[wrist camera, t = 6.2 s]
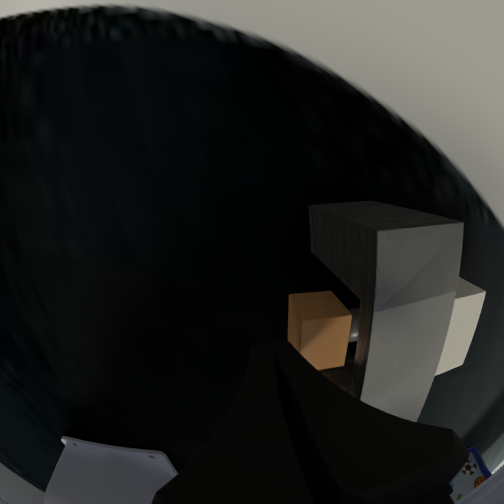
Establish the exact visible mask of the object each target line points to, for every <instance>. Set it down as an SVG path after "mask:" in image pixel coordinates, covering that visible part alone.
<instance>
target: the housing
mask: <svg viewBox="0 0 504 504" xmlns="http://www.w3.org/2000/svg"><path fill="white" fill-rule="evenodd" d="M308 210H309V226H310V244H311V252H312V253H313V254H314V255H315V256H316V257H317V258H318V259H319V260H320V261H321V262H322V263H323V264H324V265H325V266H326V267H327V268H329V269H330V270H331V271H332V272H333V273H334V274H335V275H336V276H337V277H338V278H339V279H340V280H341V281H342V282H343V283H344V284H345V285H346V286H347V287H348V288H349V289H350V290H351V291H352V292H353V293H354V294H355V295H356V296H357V297H358V298H359V299H360V314H359V326H358V337H357V347H356V354H352V355H347V356H346V357H345V362H344V366H339V367H333V368H327V369H321V370H318V371H319V372H321V373H322V374H323V375H324V376H325V377H327V378H328V379H329V380H330V381H332V382H333V383H334V384H336V385H337V386H339V387H340V388H341V389H343V390H344V391H346V392H347V393H349V394H351V395H352V396H354V397H356V398H357V399H359V400H361V401H363V402H365V403H367V404H369V405H371V406H373V407H375V408H378V409H380V410H382V411H384V412H387V413H389V414H392V415H395V416H397V417H400V418H403V419H407V420H410V421H413V422H416V421H417V419H418V417H419V414H420V412H421V410H422V407H423V405H424V403H425V400H426V398H427V395H428V393H429V390H430V387H431V385H432V382H433V379H434V376H435V373H436V370H437V367H438V364H439V361H440V358H441V354H442V351H443V348H444V344H445V340H446V337H447V333H448V329H449V325H450V320H451V316H452V311H453V306H454V301H455V296H456V290H457V284H458V278H459V270H460V262H461V253H462V242H463V228H464V222H460V221H456V220H453V219H449V218H445V217H441V216H437V215H433V214H429V213H425V212H421V211H417V210H412V209H408V208H403V207H399V206H394V205H390V204H385V203H380V202H375V201H359V202H344V203H331V204H318V205H308Z"/></svg>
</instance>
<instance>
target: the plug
mask: <svg viewBox="0 0 504 504" xmlns="http://www.w3.org/2000/svg"><path fill="white" fill-rule="evenodd" d="M485 293H486V291H484V290H482V289H480V288H479V287H477V286H475V285H473V284H471V283H469V282H467V281H466V280H464V279H462V278H460V277H459V278H458V284H457V290H456V296H455V301H454V306H453V311H452V316H451V320H450V325H449V329H448V333H447V337H446V340H445V344H444V348H443V351H442V354H441V358H440V361H439V364H438V367H437V370H436V373H435V376H436V375H438V374H441V373H443V372H446V371H448V370H451V369H453V368H455V367H458V366H460V365H462V364H463V362H464V359H465V357H466V354H467V351H468V349H469V346H470V343H471V341H472V338H473V335H474V332H475V329H476V325H477V322H478V319H479V316H480V312H481V309H482V305H483V301H484V297H485ZM359 314H360V308H353V309H347V308H346V307H345V306H344V305H343V304H342V303H341V301H340V300H339V299H338V298H337V297H336V296H335V295H334V293H333V292H332V291H321V292H309V293H296V294H289V314H288V341H289V342H290V343H291V344H292V345H293V346H294V347H295V348H296V349H297V351H298V352H299V353H300V354H301V355H302V356H303V357H304V358H305V359H306V360H307V361H308V362H309V363H310V364H312V365H313V366H314V367H315V368H316V369H317V370H321V369H327V368H333V367H339V366H344V362H345V357H346V351H347V346H348V342H353V341H357V337H358V326H359Z"/></svg>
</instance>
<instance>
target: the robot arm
mask: <svg viewBox="0 0 504 504" xmlns="http://www.w3.org/2000/svg"><path fill="white" fill-rule="evenodd" d="M61 440H62V442H63V443H64V444H65V445H66V446H65V448H64V450H63V452H62V454H61V457H60V459H59V461H58V463H57V465H56V468H55V470H54V472H53V475H52V477H51V479H50V482H49V484H48V487H47V489H46V492H45V499H44V504H504V465H503V466H502V467H501V468H500V469H499V470H497V471H496V472H495V473H494V474H493V475H491V476H490V477H489V478H488V479H487V480H485V481H484V482H483V483H481V484H480V485H479V486H478V487H476V488H475V489H474V490H472V491H471V492H469V493H468V494H467V495H465V496H464V497H462V498H461V499H459V500H458V501H456V502H455V503H454V501H453V500H452V498H451V496H450V494H451V493H452V492H453V488H452V487H451V485H450V483H449V482H450V481H451V480H452V479H453V478H454V477H455V476H456V474H457V473H458V472H459V471H460V470H461V469H462V467H463V466H464V465H465V464H466V462H467V461H468V458H469V455H470V452H469V450H468V449H467V448H466V446H465V445H464V443H463V442H462V441H461V439H460V438H459V437H458V436H457V435H456V433H455V432H454V431H453V430H452V429H448V428H442V427H436V426H431V425H426V424H421V423H417V422H413V421H410V420H407V419H403V418H400V417H397V416H395V415H392V414H389V413H387V412H384V411H382V410H380V409H378V408H375V407H373V406H371V405H369V404H367V403H365V402H363V401H361V400H359V399H357V398H356V397H354V396H352V395H351V394H349V393H347V392H346V391H344V390H343V389H341V388H340V387H339V386H337V385H336V384H334V383H333V382H332V381H330V380H329V379H328V378H327V377H325V376H324V375H323V374H322V373H321V372H319V371H318V370H317V369H316V368H315V367H314V366H313V365H312V364H310V363H309V362H308V361H307V360H306V359H305V358H304V357H303V356H302V355H301V354H300V353H299V352H298V351H297V349H296V348H295V347H294V346H293V345H292V344H291V343H290V342H289V341H288V340H286V341H279V342H272V343H265V344H258V345H253V346H252V347H251V348H250V357H249V362H248V366H247V369H246V372H245V375H244V378H243V381H242V384H241V386H240V388H239V391H238V393H237V395H236V397H235V400H234V402H233V404H232V406H231V407H230V409H229V411H228V413H227V415H226V416H225V418H224V420H223V421H222V423H221V424H220V426H219V427H218V429H217V430H216V431H215V433H214V434H213V436H212V437H211V438H210V440H209V441H208V442H207V444H206V445H205V446H204V447H203V448H202V450H201V451H200V452H199V453H198V454H197V455H196V456H195V457H194V458H193V459H192V460H191V462H190V463H189V464H188V465H187V466H186V467H185V468H184V469H183V470H182V471H180V472H179V473H177V471H176V470H175V468H174V467H173V465H172V464H171V462H170V460H169V459H168V457H167V456H166V454H165V453H163V452H161V451H157V450H144V449H134V448H126V447H118V446H112V445H106V444H100V443H94V442H89V441H84V440H80V439H75V438H71V437H67V436H62V438H61ZM0 504H8V503H7V502H5V501H4V500H2V499H1V498H0Z"/></svg>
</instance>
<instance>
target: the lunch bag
mask: <svg viewBox="0 0 504 504" xmlns="http://www.w3.org/2000/svg"><path fill="white" fill-rule="evenodd" d="M468 450H469V452H470V455H469V458H468V461H467V462H466V464H465V465H464V466H463V467H462V469H461V470H460V471H459V472H458V473H457V474H456V476H455V477H454V478H453V479H452V480H451V481H450V482H449V483H450V485H451V487H452V488H453V492H452V493H451V494H450V496H451V498H452V500H453V501H454V503H455V502H456V501H458V500H459V499H461V498H462V497H464V496H465V495H467V494H468V493H469V492H471V491H472V490H474V489H475V488H476V487H478V486H479V485H480V484H481V483H483V482H484V481H485V480H487V479H488V478H489V477H490V476H491V475H492V474H491V473H490V471H489V470H488V469H487V467H486V465H485V463H484V461H483V458H482V457H481V455H480V453H479V451H478V450H477V448H475V447H470V448H469V449H468Z"/></svg>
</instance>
